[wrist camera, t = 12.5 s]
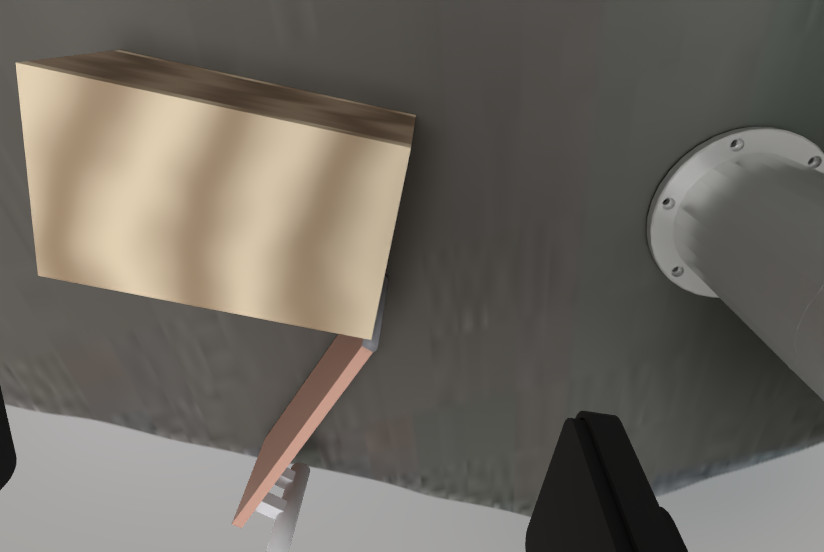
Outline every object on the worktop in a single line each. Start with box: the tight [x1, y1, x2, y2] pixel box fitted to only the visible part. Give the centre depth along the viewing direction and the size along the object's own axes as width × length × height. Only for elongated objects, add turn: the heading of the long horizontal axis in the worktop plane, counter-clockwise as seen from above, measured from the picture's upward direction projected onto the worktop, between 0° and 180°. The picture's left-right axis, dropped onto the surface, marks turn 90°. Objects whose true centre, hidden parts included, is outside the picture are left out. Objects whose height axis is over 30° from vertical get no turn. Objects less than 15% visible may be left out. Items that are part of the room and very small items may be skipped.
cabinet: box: [16, 50, 416, 340], centre depth 35 cm, size 20×12×10 cm, turn 78°
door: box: [232, 276, 388, 552], centre depth 40 cm, size 20×4×15 cm, turn 147°
